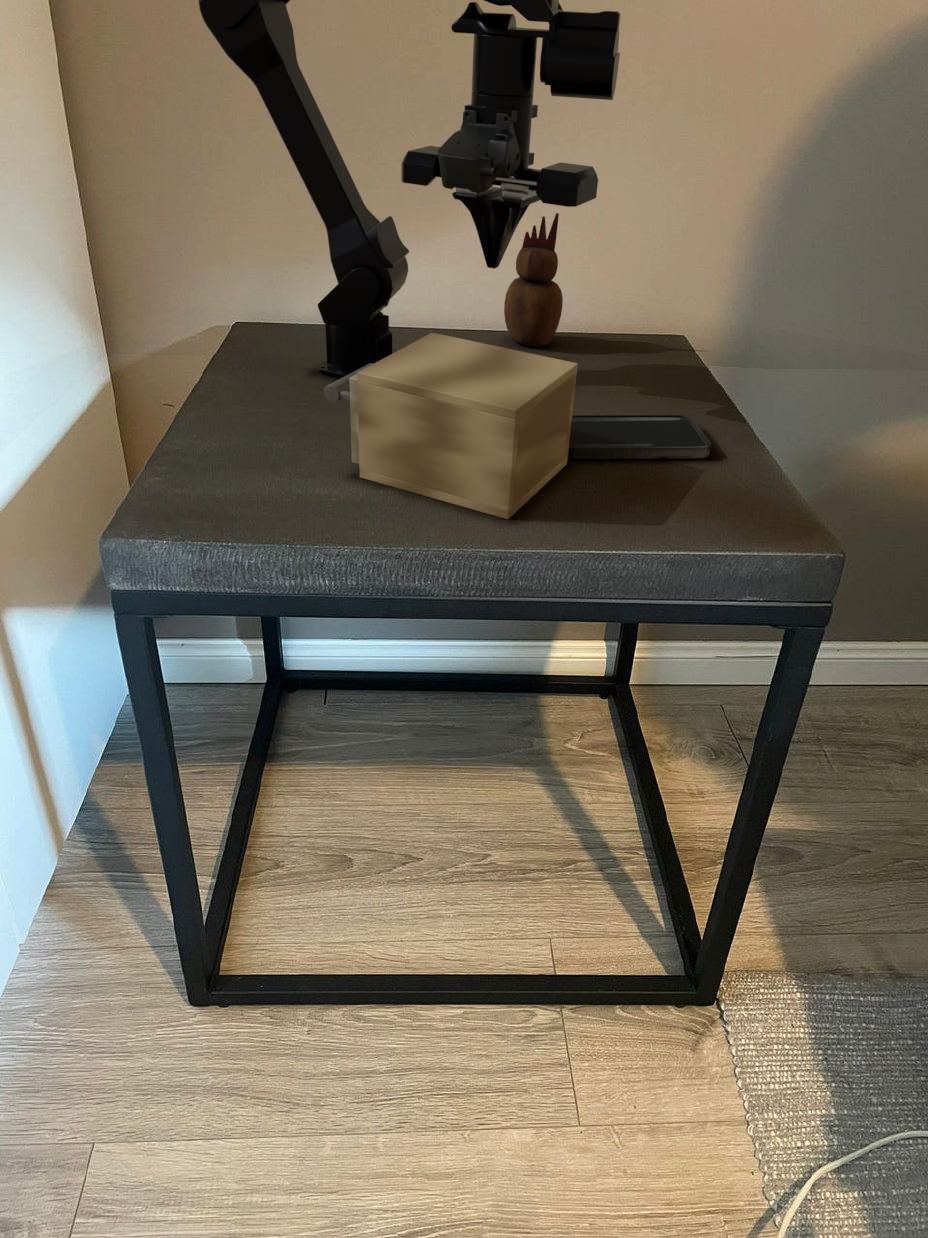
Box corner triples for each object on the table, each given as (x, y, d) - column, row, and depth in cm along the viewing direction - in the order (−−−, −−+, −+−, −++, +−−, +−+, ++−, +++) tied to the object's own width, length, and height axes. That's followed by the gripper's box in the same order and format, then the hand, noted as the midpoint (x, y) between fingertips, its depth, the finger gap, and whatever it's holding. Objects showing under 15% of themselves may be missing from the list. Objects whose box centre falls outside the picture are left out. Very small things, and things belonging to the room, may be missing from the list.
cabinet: (359, 477, 84) (356, 372, 78) (429, 429, 93) (431, 332, 88) (508, 519, 78) (516, 409, 73) (566, 464, 88) (578, 363, 82)
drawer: (311, 451, 86) (307, 367, 81) (378, 410, 94) (378, 332, 90) (487, 500, 79) (492, 412, 75) (542, 451, 88) (550, 369, 83)
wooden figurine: (565, 342, 117) (579, 212, 108) (543, 354, 113) (555, 220, 104) (518, 330, 120) (527, 203, 111) (494, 342, 115) (502, 211, 107)
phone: (543, 415, 94) (690, 414, 96) (542, 425, 95) (688, 425, 96) (558, 448, 88) (714, 447, 89) (556, 459, 88) (712, 458, 90)
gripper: (369, 90, 85) (372, 269, 94) (561, 110, 78) (544, 301, 87) (431, 81, 93) (428, 247, 102) (609, 99, 86) (589, 275, 95)
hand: (492, 267), depth 96 cm, fingers closed
